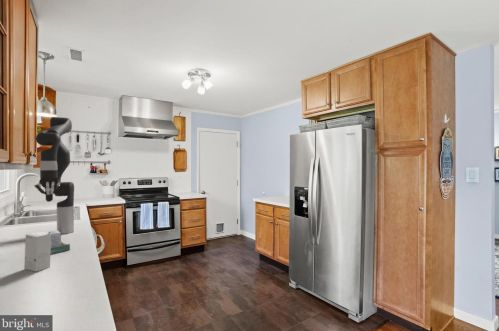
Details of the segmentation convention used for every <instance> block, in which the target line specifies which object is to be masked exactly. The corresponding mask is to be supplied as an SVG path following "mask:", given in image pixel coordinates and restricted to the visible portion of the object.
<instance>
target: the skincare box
mask: <svg viewBox="0 0 499 331" xmlns="http://www.w3.org/2000/svg"><path fill="white" fill-rule="evenodd" d="M24 243H25V246H24V247H25V248H24V263H23V264H24V266H23V268H24V270H27V271H32V272H40V271H42V270H46V269H48V268H51V254H50V253H51V234H49V233H48V232H43V231H37V232H32V233H26V234H25V242H24Z"/></svg>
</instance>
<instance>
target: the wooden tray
mask: <svg viewBox="0 0 499 331" xmlns="http://www.w3.org/2000/svg"><path fill="white" fill-rule="evenodd" d="M70 250H71V244H70V243H68V244H67V243H64V242H63V241H61V246H57V247H52V248H51V253H50V255H54V254H55V255H56V254H58V253H63V252H68V251H70Z"/></svg>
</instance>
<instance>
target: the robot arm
mask: <svg viewBox="0 0 499 331" xmlns="http://www.w3.org/2000/svg"><path fill="white" fill-rule="evenodd" d="M72 123H73V122H72V120H71V118H68V117H59V116H58V117H56V116H54V117H52V116H51V118H50V119H49V127H48V128H47V129H45V130H43V131H39V132H38V133H37V134H36V137H35V141H36V143H37V144H38V145H40V146H46V147H47V146H48V147H49V146H51V147H50V148H48V149H44V150H43V149H42V150H41V151H40V164H39V173H40V174H39V177H40V179H39V181H38V183H37V184H34V187H35V188H36V189H37V191H39V192H40V193H41V194H43V195H45V201H46V202H48V203H49V202H52V201H53V200H54V198H53V196H55V197H66V198H65V199H63V200H61V201H57V203H56V231H59V232H60V233H61V235H65V234H71V233H73V232H75V227H74V226H75V219H74V218H75V215H74V214H75V212H74V211H75V210H74V207H75V206H74V203H75V202H74V200H75V198H74V197H75V184H74V182H73V181H63V182H62V181H61V179H62V176H63V175H64V173H65V171H66V170H67V168H68V167H69V166H70V163H71V152H70V151H69V149H68V148H67V146H66V145H65V144H64V143H63V142H62V139H61V138H62V136H64V135H65V134H67V133H69V132H71V131H72V129H73V128H72V127H73V124H72ZM42 187H43V188H42Z"/></svg>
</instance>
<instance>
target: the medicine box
mask: <svg viewBox="0 0 499 331" xmlns="http://www.w3.org/2000/svg"><path fill="white" fill-rule="evenodd" d="M47 233H49V234H51V248H52V247H57V246H61V242H62V234H61V233H60V232H59V231H57V230H53V231H52V230H51V231H48V232H47Z"/></svg>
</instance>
